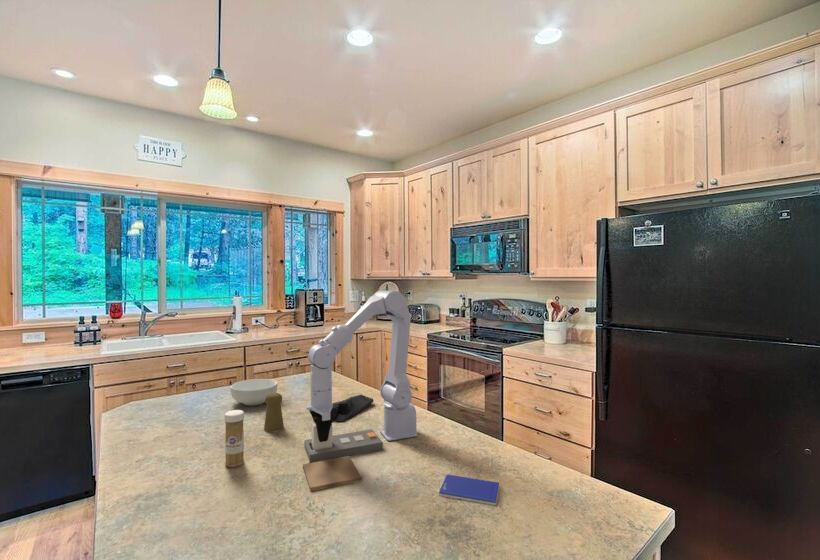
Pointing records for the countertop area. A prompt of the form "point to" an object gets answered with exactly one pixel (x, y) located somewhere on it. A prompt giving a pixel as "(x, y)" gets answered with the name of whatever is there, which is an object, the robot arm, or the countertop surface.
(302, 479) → the countertop surface
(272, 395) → the cork
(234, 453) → the sprinkles bottle
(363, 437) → the power strip
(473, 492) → the hard drive
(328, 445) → the block
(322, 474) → the coaster
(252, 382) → the cereal bowl
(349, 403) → the dark slate chunk
